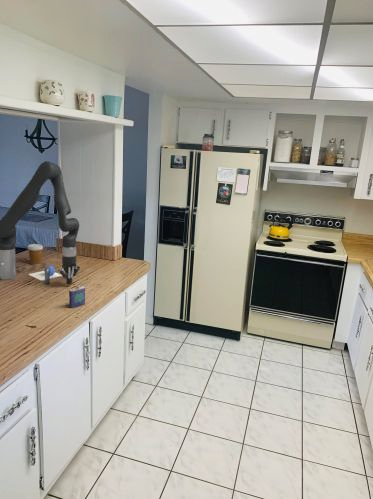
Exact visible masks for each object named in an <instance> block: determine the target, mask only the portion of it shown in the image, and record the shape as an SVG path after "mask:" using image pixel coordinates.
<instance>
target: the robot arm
mask: <svg viewBox="0 0 373 499" xmlns="http://www.w3.org/2000/svg"><path fill="white" fill-rule="evenodd" d="M48 180H49V181H50V182H51V185H52V187H53V202H54V205H55V208H56V211H57V217H58V218H57V219H58V227H59V229H60V231H61V232H62V233H63V232H64V233H67V234H66V235H64V236H62V248H61V263H62V266H61V268H59V269H58V270H57V271H58V274H60V275H62V276H61V277H63V278H65V279H66V280H65V281H66V284H67V285H69V286H70V285H72V284H73V278H74V277H76V275H77V273H78V272H79V271H80V269H81V266H79V265H77V237H78V233H79V229H80V222H79V220H78V219H77V218H76V217H70V218H67V216H68V215H70V214H71V213H72V209H71V206H70V203H69V200H68V196H67V193H66V190H65V185H64V184H65V183H64V179H63V173H62V169H61V167H60V166H59V165H58V164H57V163H54V162H52V161H48V160H46V161H43V162H41V163H40V164H39V166H38V167H37V169H36V171H35V172H34V174H33V176H32V177H31V178H30V180H29V182H28V183H27V184H26V185H25V187H24V188H23V190H22V191H21V192H20V193H19V195H18V196H17V197H16V199H15V200H14V201H13V203H12V204H11V206H10V208H9V209H8V211H7V212H6V213H5V215H4V216H3V217H2V218H1V219H0V280H13V279H14V278H16V277H17V268H16V267H17V265H16V264H17V263H16V262H17V261H16V243H17V227H16V225H17V223H18V222H20V220H22V219H23V218H24V217H25V215H27V214H28V213H29V212H30V211H31V210H32V208H33V207H34V206H35V205H36V203H37V202H38V200H39V197H40V192H41V189H42V187H43V185H44V184H45V183H46V182H47V181H48Z"/></svg>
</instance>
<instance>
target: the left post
mask: <svg viewBox="0 0 373 499" xmlns="http://www.w3.org/2000/svg"><path fill="white" fill-rule="evenodd" d="M44 270H45V280H44V285H45V286H47V285H51V278H50V268H46V267H45V268H44Z"/></svg>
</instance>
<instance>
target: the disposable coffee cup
mask: <svg viewBox="0 0 373 499" xmlns="http://www.w3.org/2000/svg"><path fill="white" fill-rule="evenodd" d="M43 249H44V246H43V245H42V244H39V243H32V244H28V245H27V250H28V256H29V262H30V264H31V265H35V264H41V263H42V257H43V256H42V255H43Z"/></svg>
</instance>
